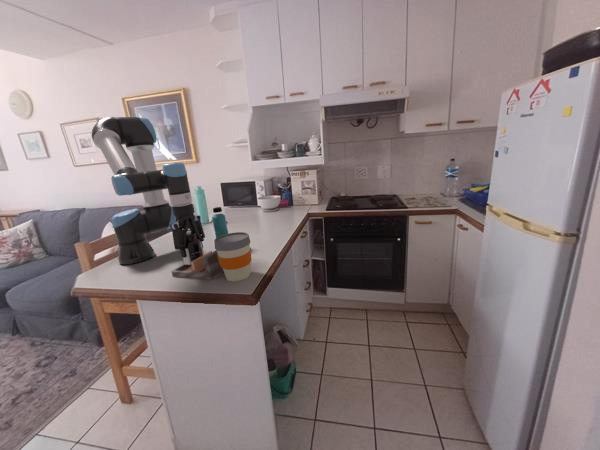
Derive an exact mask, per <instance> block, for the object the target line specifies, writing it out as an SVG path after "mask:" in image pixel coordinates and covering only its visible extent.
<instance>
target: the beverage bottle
mask: <svg viewBox="0 0 600 450" xmlns="http://www.w3.org/2000/svg"><path fill="white" fill-rule="evenodd" d="M221 212H223V209H222V207H220V206H218V207H217V206H216V207H214V208H212V213H215V214H213V215H212V217H211V218H212V224H213V225H212V226H213V228H214V229H213V230H214V234H215V239H216V238H217V237H219V236H222V235H225V234H229V230H228V226H227V219H226V215H225V214H224V213H221Z"/></svg>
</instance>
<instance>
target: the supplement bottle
mask: <svg viewBox="0 0 600 450" xmlns="http://www.w3.org/2000/svg"><path fill="white" fill-rule="evenodd" d="M196 237H197V236H196V232H191V231H187V237H186V248H188V251H189V255H190V260H191V262H192V261H194V260H195V259H197V258H199V257H201V256H202V255H203V253H202V248H201V243H200V240H199V239H198V238H196Z"/></svg>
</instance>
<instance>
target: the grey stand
mask: <svg viewBox="0 0 600 450" xmlns="http://www.w3.org/2000/svg"><path fill="white" fill-rule="evenodd" d="M217 255H218V253H217V250H216V249H215V250H213V251H212V253H210V254H209V255H207V256H205V257H204V258H203V261H204V266H205V269H203V270H202V271H200V272H193V269H192V265H185V264H184V263H183V264H182V265H179V266H178V267H176V268H174V269H173V270H171V276H172V277H176V278H177V277H178V278H187V279H188V278H189V279H198V280H207V281H208V280H210V281H212V280H214V279H215V278H217V277H218V276H219V275H221V274H222V273H224V271H223V268H221V266H220V263H219V260H218V257H217Z"/></svg>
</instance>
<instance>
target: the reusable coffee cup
mask: <svg viewBox="0 0 600 450" xmlns="http://www.w3.org/2000/svg"><path fill="white" fill-rule="evenodd" d="M228 233H229V232H228ZM250 244H251V238H250V236H249V233H247V232H242V231H239V232H238V231H236V232H230V233H229V234H225V235H222V236H219V237H217V238H216V237H215V238H214V249H215V251H216V250H217V253H218V255H217V257H218V260H219V263H220V266H221V268H223V273H224V277H225V278H226V281H229V282H240V281H243V280H245V279H248V278H249V277H250V276H251V274H252V273H251V263H252V248H251V245H250Z"/></svg>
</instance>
